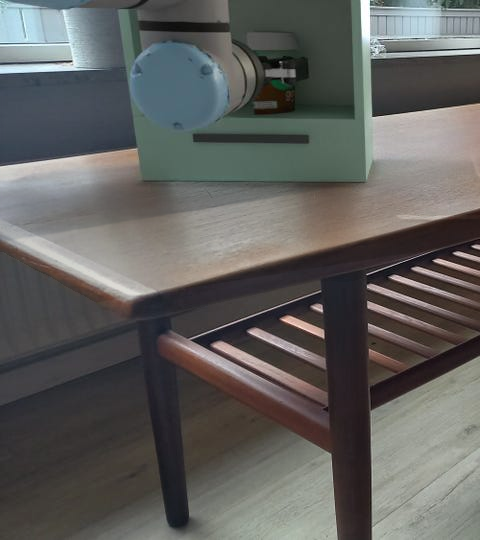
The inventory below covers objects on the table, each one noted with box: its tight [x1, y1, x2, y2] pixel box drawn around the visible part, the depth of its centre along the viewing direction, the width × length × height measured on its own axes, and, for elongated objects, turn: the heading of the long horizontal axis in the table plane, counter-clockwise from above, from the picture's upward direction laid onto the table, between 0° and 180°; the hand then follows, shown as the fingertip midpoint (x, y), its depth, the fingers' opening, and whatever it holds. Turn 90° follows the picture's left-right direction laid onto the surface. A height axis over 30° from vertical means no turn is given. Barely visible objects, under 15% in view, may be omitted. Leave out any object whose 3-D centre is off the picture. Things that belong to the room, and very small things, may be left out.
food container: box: [247, 31, 300, 115], centre depth 91 cm, size 12×6×10 cm, turn 13°
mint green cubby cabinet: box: [117, 0, 374, 183], centre depth 91 cm, size 17×28×25 cm, turn 95°
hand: (264, 63), depth 94 cm, fingers open, 6 cm apart
